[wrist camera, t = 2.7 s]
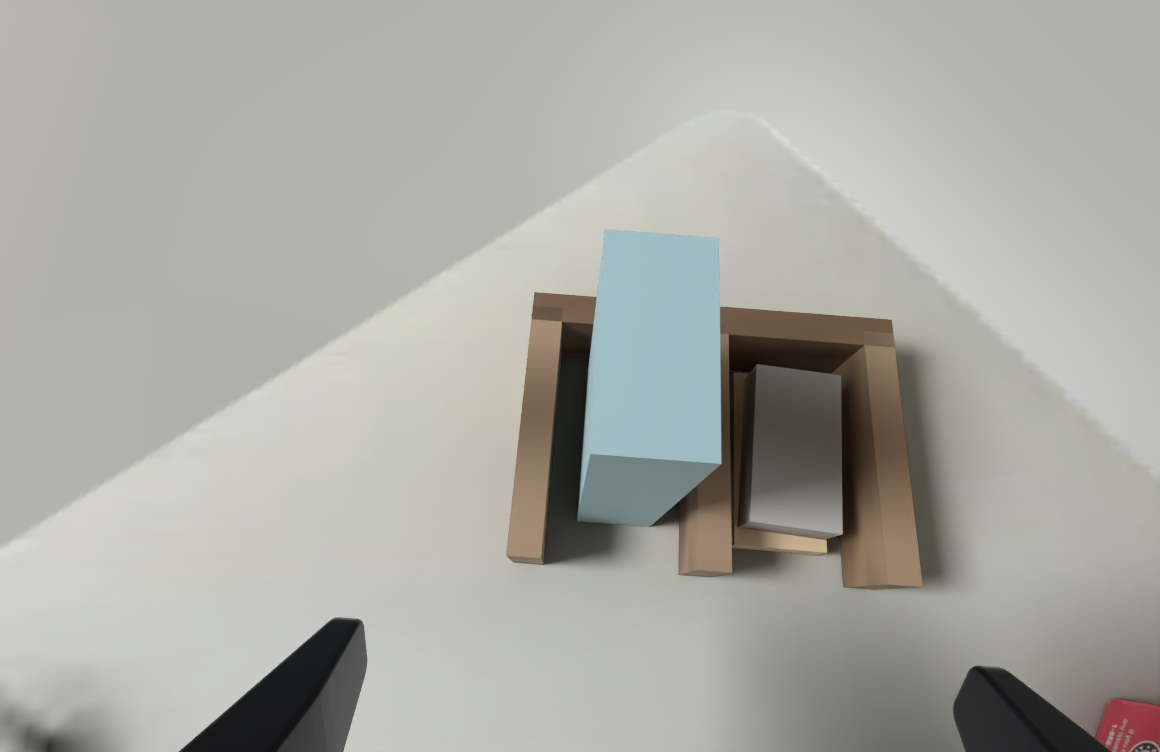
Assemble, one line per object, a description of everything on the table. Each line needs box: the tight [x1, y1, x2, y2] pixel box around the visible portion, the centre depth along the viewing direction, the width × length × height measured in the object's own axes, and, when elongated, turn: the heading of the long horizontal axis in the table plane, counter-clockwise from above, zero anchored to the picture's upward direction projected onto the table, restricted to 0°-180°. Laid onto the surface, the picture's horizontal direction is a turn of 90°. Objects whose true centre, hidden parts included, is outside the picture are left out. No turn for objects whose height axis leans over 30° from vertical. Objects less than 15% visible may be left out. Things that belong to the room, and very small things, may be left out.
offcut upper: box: [738, 364, 843, 540], centre depth 20 cm, size 5×3×2 cm, turn 172°
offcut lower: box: [729, 372, 827, 555], centre depth 22 cm, size 6×3×2 cm, turn 175°
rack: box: [506, 292, 923, 589], centre depth 21 cm, size 8×12×3 cm
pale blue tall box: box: [577, 229, 721, 527], centre depth 17 cm, size 5×2×10 cm, turn 176°
